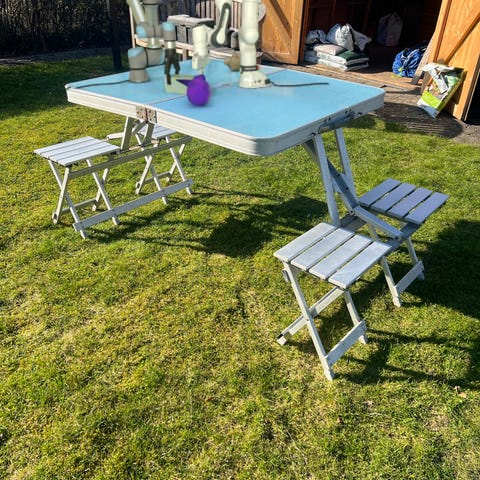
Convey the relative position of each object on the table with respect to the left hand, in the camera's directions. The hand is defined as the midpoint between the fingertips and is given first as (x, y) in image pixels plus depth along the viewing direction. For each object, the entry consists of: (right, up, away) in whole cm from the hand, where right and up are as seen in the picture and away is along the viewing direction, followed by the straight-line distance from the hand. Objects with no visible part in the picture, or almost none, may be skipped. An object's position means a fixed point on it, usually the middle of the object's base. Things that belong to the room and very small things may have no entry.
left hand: (173, 82), depth 304 cm
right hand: (+20, +2, -10) cm, 22 cm away
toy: (+18, -22, -28) cm, 40 cm away
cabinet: (+6, -6, +1) cm, 9 cm away
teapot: (+42, +33, +66) cm, 84 cm away
